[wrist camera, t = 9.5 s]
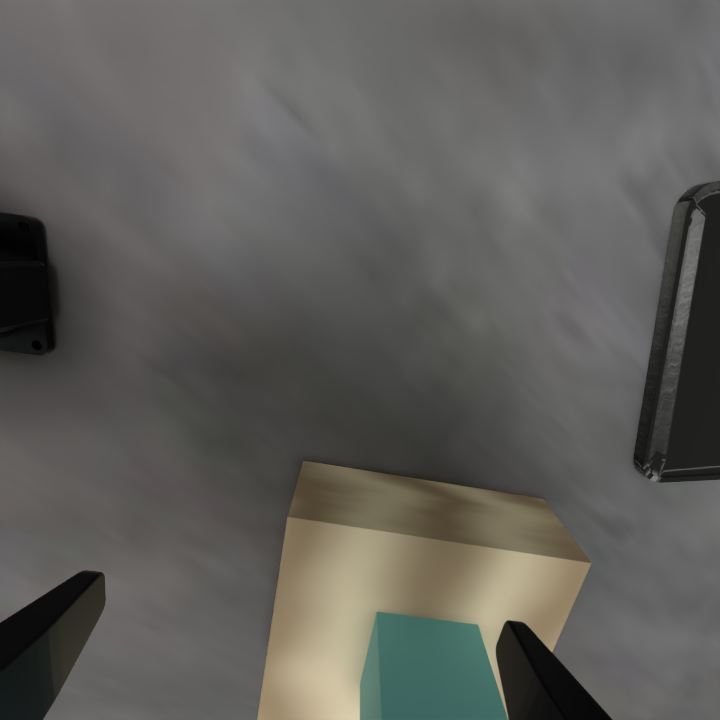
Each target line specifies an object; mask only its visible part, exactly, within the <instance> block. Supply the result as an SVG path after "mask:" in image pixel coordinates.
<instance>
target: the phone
mask: <svg viewBox="0 0 720 720" xmlns="http://www.w3.org/2000/svg"><path fill="white" fill-rule="evenodd" d="M634 465H635V467H636V469H637V470H638V471H640V472H641V473H642V474H643V475H645V476H646V477H647V478H648V479H650V480H652V481H654V482H662V483H663V482H682V481H701V480H720V181H717V182H712V183H707V184H702V185H698V186H695V187H693V188H691V189H690V190H688V191H687V192H686V193H685V194H684V195H683V196H682V197H681V198H680V199H679V201H678V203H677V204H676V207H675V210H674V213H673V219H672V225H671V231H670V237H669V243H668V249H667V255H666V262H665V268H664V274H663V280H662V286H661V292H660V298H659V305H658V311H657V317H656V323H655V329H654V335H653V341H652V347H651V354H650V360H649V366H648V372H647V378H646V384H645V390H644V397H643V403H642V409H641V415H640V421H639V427H638V433H637V440H636V446H635V452H634Z"/></svg>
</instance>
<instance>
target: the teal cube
mask: <svg viewBox="0 0 720 720" xmlns="http://www.w3.org/2000/svg"><path fill="white" fill-rule="evenodd" d="M360 720H508V717H507V714H506V711H505V708H504V705H503V702H502V699H501V695H500V692H499V689H498V686H497V683H496V680H495V677H494V673H493V670H492V667H491V664H490V661H489V658H488V655H487V651H486V648H485V645H484V642H483V639H482V636H481V632H480V629H479V626H478V625H477V624H469V623H461V622H454V621H446V620H438V619H431V618H423V617H415V616H407V615H400V614H392V613H384V612H377V613H376V617H375V621H374V626H373V630H372V634H371V639H370V643H369V647H368V652H367V656H366V660H365V665H364V669H363V673H362V678H361V682H360Z"/></svg>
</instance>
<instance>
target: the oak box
mask: <svg viewBox="0 0 720 720" xmlns="http://www.w3.org/2000/svg"><path fill="white" fill-rule="evenodd" d="M590 566H591V562H590V560H589V559H588V558H587V556H586V555H585V554H584V552H583V551H582V550H581V548H580V547H579V546H578V544H577V543H576V542H575V540H574V539H573V538H572V536H571V535H570V533H569V532H568V531H567V529H566V528H565V527H564V525H563V524H562V523H561V521H560V520H559V519H558V517H557V516H556V515H555V513H554V512H553V511H552V509H551V508H550V507H549V505H548V504H547V503H546V501H545V500H544V499H541V498H535V497H529V496H523V495H516V494H510V493H504V492H497V491H491V490H485V489H479V488H472V487H466V486H460V485H454V484H447V483H441V482H435V481H428V480H422V479H416V478H410V477H403V476H397V475H391V474H384V473H378V472H372V471H366V470H359V469H353V468H347V467H341V466H334V465H328V464H322V463H315V462H309V461H303V463H302V467H301V470H300V474H299V477H298V481H297V485H296V488H295V492H294V495H293V499H292V502H291V506H290V509H289V513H288V517H287V523H286V530H285V537H284V543H283V550H282V557H281V564H280V570H279V577H278V584H277V591H276V597H275V604H274V611H273V618H272V624H271V631H270V638H269V645H268V651H267V658H266V665H265V672H264V678H263V685H262V692H261V699H260V705H259V712H258V719H257V720H360V682H361V678H362V673H363V669H364V665H365V660H366V656H367V652H368V647H369V643H370V639H371V634H372V630H373V626H374V621H375V617H376V613H377V612H384V613H392V614H400V615H407V616H415V617H423V618H431V619H438V620H446V621H454V622H461V623H469V624H477V625H478V626H479V629H480V632H481V636H482V639H483V642H484V645H485V648H486V651H487V655H488V658H489V661H490V664H491V667H492V670H493V673H494V677H495V680H496V683H497V686H498V689H499V692H500V695H501V699H502V702H503V705H504V708H505V711H506V714H507V717H508V713H507V708H506V703H505V698H504V694H503V689H502V684H501V679H500V674H499V669H498V664H497V659H496V644H497V641H498V639H499V636H500V633H501V631H502V628H503V625H504V623H505V622H506V621H507V620H512V621H521V622H524V623H525V624H526V625H528V626H529V628H530V629H531V630H532V631H533V632H534V633H535V634H536V635H537V636H538V638H539V639H540V640H541V641H542V642H543V643H544V644H545V645H546V646H547V648H548V649H549V650H550V651H551V652H552V651H553V649H554V647H555V644H556V642H557V640H558V638H559V635H560V633H561V631H562V629H563V626H564V624H565V622H566V620H567V617H568V615H569V613H570V611H571V608H572V606H573V604H574V602H575V599H576V597H577V595H578V593H579V590H580V588H581V586H582V584H583V581H584V579H585V577H586V575H587V572H588V570H589V568H590ZM508 720H509V718H508Z"/></svg>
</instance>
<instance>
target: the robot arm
mask: <svg viewBox="0 0 720 720" xmlns="http://www.w3.org/2000/svg"><path fill="white" fill-rule="evenodd" d="M26 224H28V226H29V232H28V231H27V230H26V227H25V226H26ZM38 342H40V343H41V344H42V347H41V346H40V345H39V343H38ZM53 347H54V342H53V332H52V322H51V312H50V302H49V292H48V282H47V272H46V262H45V252H44V242H43V232H42V227H41V224H40V223H39V221H38V220H36V219H35V218H33V217H30V216H23V215H16V214H9V213H2V212H0V350H4V351H11V352H19V353H27V354H34V355H43V354H46V353H49V352H51V351H52V350H53ZM105 600H106V599H105V577H104V574H103V573H102V572H97V571H88V570H85V571H82V572H79V573H77V574H76V575H74V576H73V577H71V578H70V579H68V580H66V581H65V582H63V583H62V584H60V585H59V586H57V587H56V588H54V589H52V590H51V591H49V592H48V593H46V594H45V595H43V596H41V597H40V598H38V599H37V600H35V601H34V602H32V603H30V604H29V605H27V606H26V607H24V608H23V609H21V610H19V611H18V612H16V613H15V614H13V615H12V616H10V617H8V618H7V619H5V620H4V621H2V622H1V623H0V720H43V718H44V717H45V715H46V714H47V712H48V710H49V709H50V707H51V706H52V704H53V702H54V701H55V699H56V697H57V695H58V694H59V692H60V690H61V688H62V686H63V685H64V683H65V681H66V679H67V677H68V675H69V673H70V672H71V670H72V668H73V666H74V664H75V662H76V660H77V659H78V657H79V655H80V653H81V651H82V649H83V647H84V645H85V644H86V642H87V640H88V638H89V636H90V634H91V632H92V630H93V629H94V627H95V625H96V623H97V621H98V619H99V617H100V616H101V614H102V611H103V609H104V606H105ZM496 659H497V664H498V669H499V674H500V679H501V684H502V689H503V694H504V698H505V703H506V708H507V713H508V718H509V720H612V719H611V718H610V716H609V715H608V714H607V713H606V712H605V711H604V710H603V709H602V708H601V706H600V705H599V704H598V703H597V702H596V701H595V700H594V699H593V698H592V696H591V695H590V694H589V693H588V692H587V691H586V690H585V689H584V688H583V686H582V685H581V684H580V683H579V682H578V681H577V680H576V679H575V678H574V676H573V675H572V674H571V673H570V672H569V671H568V670H567V669H566V668H565V666H564V665H563V664H562V663H561V662H560V661H559V660H558V659H557V658H556V656H555V655H554V654H553V653H552V652H551V651H550V650H549V649H548V648H547V646H546V645H545V644H544V643H543V642H542V641H541V640H540V639H539V638H538V636H537V635H536V634H535V633H534V632H533V631H532V630H531V629H530V628H529V626H528V625H526V624H525V623H524V622H521V621H512V620H507V621H506V622H505V623H504V625H503V628H502V631H501V633H500V636H499V639H498V641H497V644H496Z"/></svg>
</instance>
